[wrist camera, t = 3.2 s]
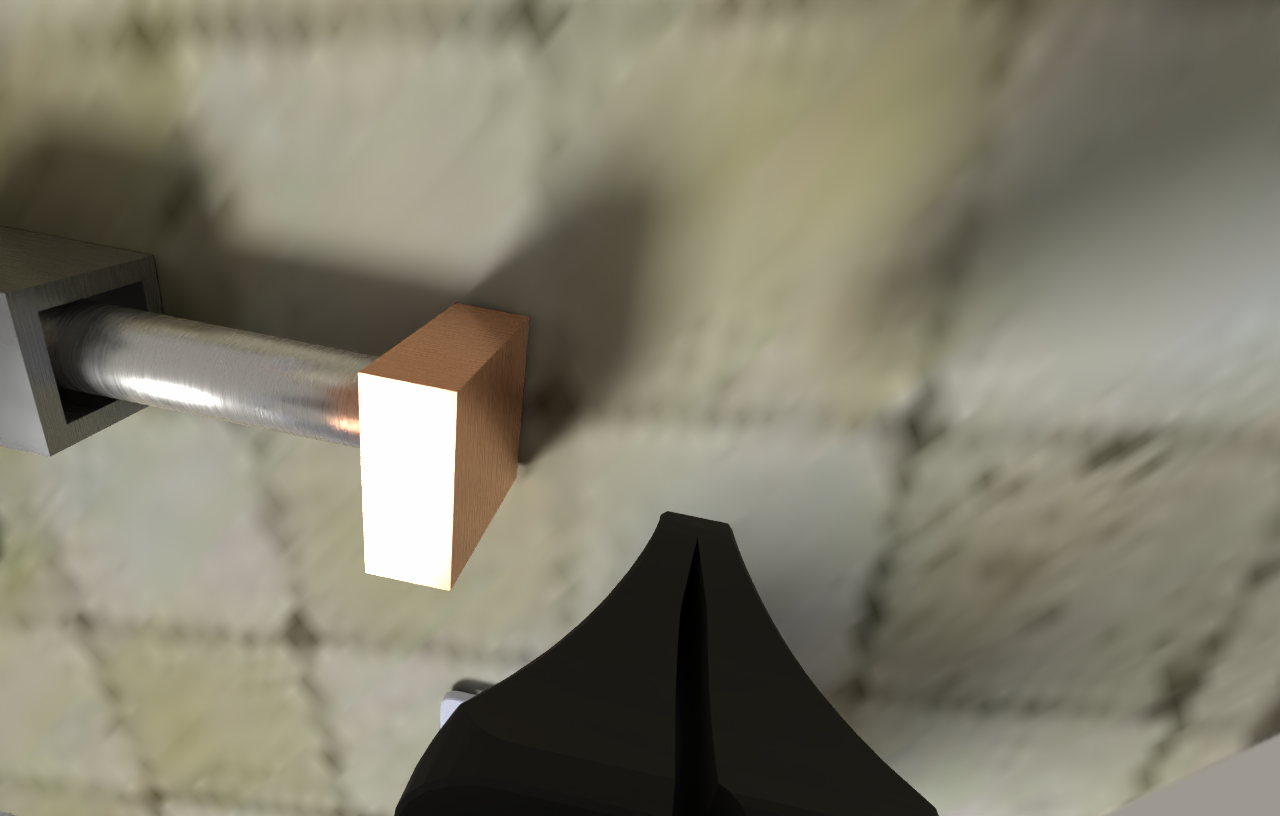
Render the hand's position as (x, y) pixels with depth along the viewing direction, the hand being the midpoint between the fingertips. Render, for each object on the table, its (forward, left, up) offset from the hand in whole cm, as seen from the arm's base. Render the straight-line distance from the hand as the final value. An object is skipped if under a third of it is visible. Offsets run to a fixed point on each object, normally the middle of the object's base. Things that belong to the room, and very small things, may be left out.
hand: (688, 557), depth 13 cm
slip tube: (+13, 0, -5) cm, 14 cm away
